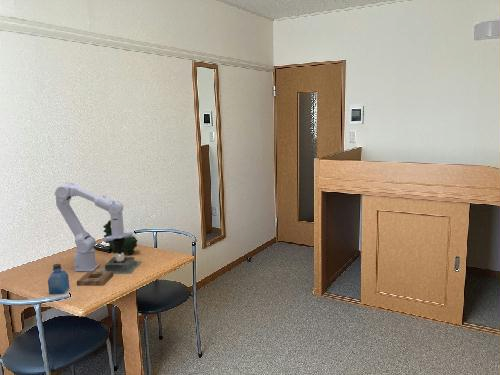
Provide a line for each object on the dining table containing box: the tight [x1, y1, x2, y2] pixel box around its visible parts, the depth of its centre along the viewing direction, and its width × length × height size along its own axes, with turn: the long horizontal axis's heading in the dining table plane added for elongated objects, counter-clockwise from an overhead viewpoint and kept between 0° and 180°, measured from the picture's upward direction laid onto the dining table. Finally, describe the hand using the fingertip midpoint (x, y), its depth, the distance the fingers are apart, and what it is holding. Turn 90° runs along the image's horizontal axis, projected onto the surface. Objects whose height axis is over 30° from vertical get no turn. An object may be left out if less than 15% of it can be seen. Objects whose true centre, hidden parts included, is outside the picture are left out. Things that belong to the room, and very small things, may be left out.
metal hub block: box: [100, 256, 142, 275], centre depth 207 cm, size 16×16×4 cm
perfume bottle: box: [47, 263, 70, 295], centre depth 180 cm, size 6×6×12 cm
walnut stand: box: [76, 270, 114, 286], centre depth 192 cm, size 12×12×2 cm
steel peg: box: [114, 251, 125, 263], centre depth 207 cm, size 4×4×7 cm
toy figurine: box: [102, 219, 138, 256], centre depth 230 cm, size 9×19×25 cm
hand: (119, 253), depth 206 cm, fingers closed
